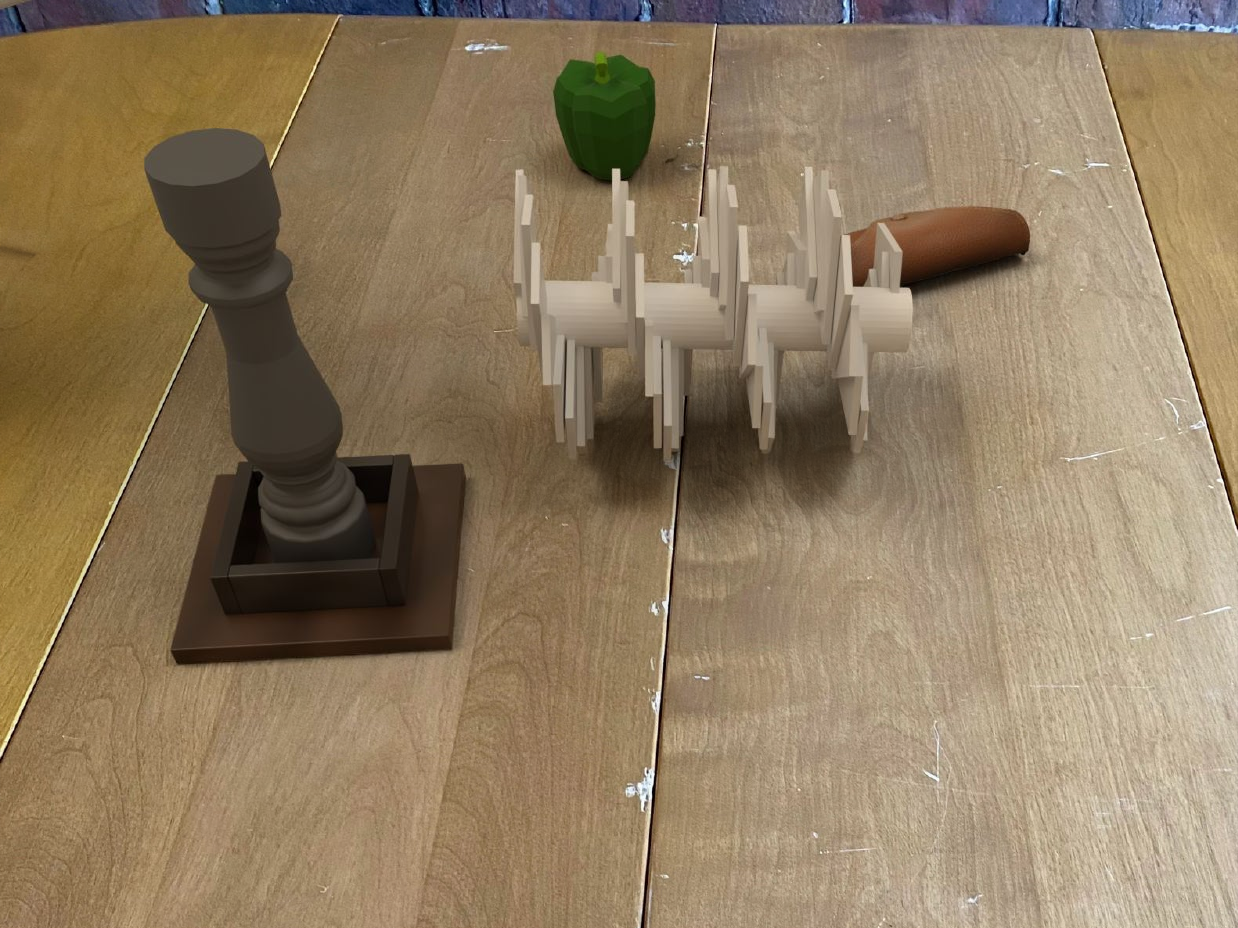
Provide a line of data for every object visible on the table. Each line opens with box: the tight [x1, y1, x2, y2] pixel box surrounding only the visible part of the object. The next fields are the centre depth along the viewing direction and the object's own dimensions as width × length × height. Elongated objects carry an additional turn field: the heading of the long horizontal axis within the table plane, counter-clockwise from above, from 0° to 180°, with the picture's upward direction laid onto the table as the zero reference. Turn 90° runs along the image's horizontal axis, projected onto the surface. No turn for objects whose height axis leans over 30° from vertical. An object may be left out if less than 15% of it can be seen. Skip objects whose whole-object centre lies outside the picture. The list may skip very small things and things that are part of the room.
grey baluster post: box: [143, 127, 376, 563], centre depth 77 cm, size 6×6×25 cm
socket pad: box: [169, 453, 467, 665], centre depth 86 cm, size 16×16×4 cm
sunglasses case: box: [840, 205, 1031, 287], centre depth 108 cm, size 18×7×7 cm
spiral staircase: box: [513, 165, 914, 463], centre depth 89 cm, size 18×18×25 cm
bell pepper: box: [552, 51, 657, 181], centre depth 115 cm, size 8×8×10 cm
